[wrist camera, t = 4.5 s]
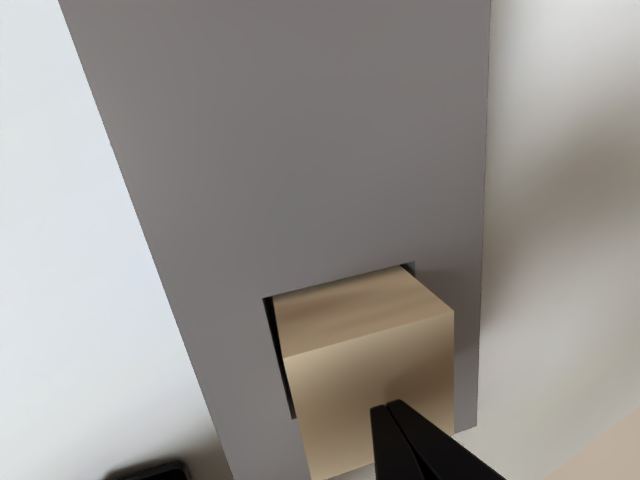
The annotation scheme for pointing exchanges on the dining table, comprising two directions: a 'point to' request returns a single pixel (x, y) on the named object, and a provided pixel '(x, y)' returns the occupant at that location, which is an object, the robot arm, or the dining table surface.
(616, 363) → the dining table surface
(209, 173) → the key housing
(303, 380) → the ash key
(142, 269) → the dining table surface
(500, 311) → the dining table surface
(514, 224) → the dining table surface
